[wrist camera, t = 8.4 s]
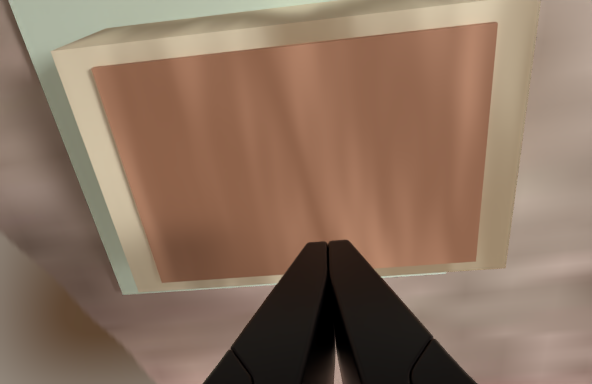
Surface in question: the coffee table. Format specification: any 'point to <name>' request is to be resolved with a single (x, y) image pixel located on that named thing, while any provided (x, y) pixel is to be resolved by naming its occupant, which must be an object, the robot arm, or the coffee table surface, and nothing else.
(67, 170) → the coffee table surface
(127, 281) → the mat
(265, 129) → the birch tile
